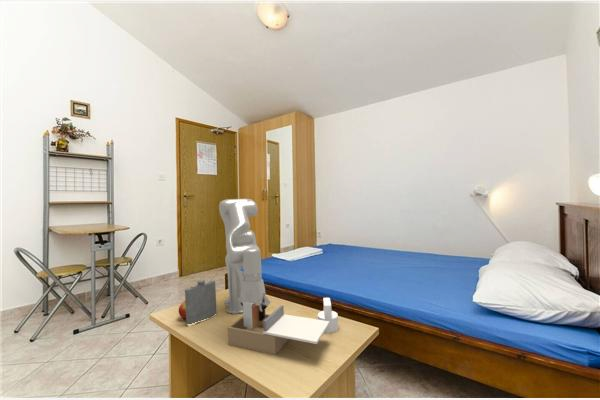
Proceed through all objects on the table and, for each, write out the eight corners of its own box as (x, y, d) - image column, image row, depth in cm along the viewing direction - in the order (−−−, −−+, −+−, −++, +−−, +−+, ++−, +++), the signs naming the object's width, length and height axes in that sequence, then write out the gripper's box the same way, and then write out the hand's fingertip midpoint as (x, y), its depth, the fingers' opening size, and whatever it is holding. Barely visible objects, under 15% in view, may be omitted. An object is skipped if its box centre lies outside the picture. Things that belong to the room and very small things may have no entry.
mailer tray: (228, 344, 109) (227, 327, 109) (250, 326, 124) (249, 311, 123) (275, 354, 100) (274, 336, 100) (292, 333, 115) (292, 318, 115)
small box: (252, 330, 108) (251, 304, 108) (243, 326, 111) (242, 301, 111) (266, 322, 114) (265, 298, 114) (257, 319, 118) (256, 295, 118)
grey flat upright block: (214, 312, 140) (212, 275, 139) (218, 314, 137) (217, 276, 137) (185, 325, 127) (183, 284, 127) (189, 327, 125) (187, 285, 125)
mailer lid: (263, 333, 102) (262, 321, 102) (281, 315, 117) (281, 305, 117) (316, 344, 93) (316, 330, 93) (329, 323, 108) (329, 311, 108)
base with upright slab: (317, 323, 124) (316, 297, 124) (337, 322, 123) (336, 297, 123) (318, 333, 115) (317, 305, 114) (339, 332, 114) (338, 305, 114)
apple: (197, 318, 134) (196, 299, 134) (180, 323, 129) (179, 303, 129) (194, 313, 141) (193, 294, 140) (177, 317, 136) (176, 298, 136)
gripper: (230, 277, 113) (232, 319, 113) (265, 281, 106) (267, 325, 106) (241, 273, 120) (243, 312, 120) (274, 275, 113) (276, 317, 113)
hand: (254, 318), depth 113 cm, fingers closed on small box, 6 cm apart
